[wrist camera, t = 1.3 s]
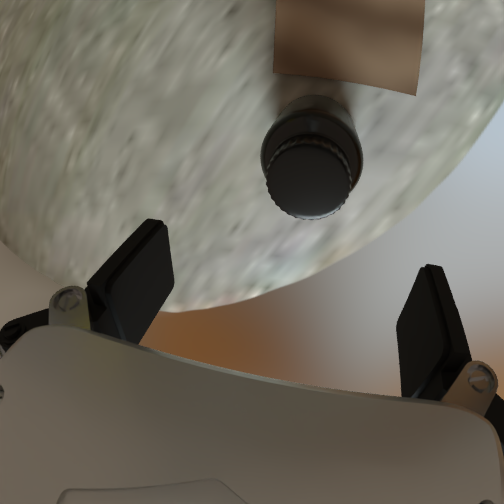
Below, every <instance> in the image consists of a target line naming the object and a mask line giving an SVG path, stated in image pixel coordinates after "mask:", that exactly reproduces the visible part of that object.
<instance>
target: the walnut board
mask: <svg viewBox="0 0 504 504" xmlns="http://www.w3.org/2000/svg"><path fill="white" fill-rule="evenodd" d="M424 11H425V0H276V20H275V42H274V62H273V73H280V74H292V75H302V76H311V77H319V78H326V79H333V80H340V81H346V82H352V83H358V84H364V85H369V86H374V87H379V88H384V89H388V90H393V91H397V92H401V93H406V94H410V95H414V96H416V91H417V84H418V77H419V69H420V60H421V51H422V40H423V27H424Z"/></svg>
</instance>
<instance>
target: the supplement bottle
mask: <svg viewBox="0 0 504 504" xmlns="http://www.w3.org/2000/svg"><path fill="white" fill-rule="evenodd" d="M260 159H261V166H262V170H263V173H264V176H265V178H266V180H267V182H266V185H267V187H268V192H269V194H270V195H271V199H272V200H274V201H275V204H276V205H277V206H279V207H280V209H281V210H282V211H285V212H286V213H287V214H288V215H292V216H294V217H295V218H301V219H303V220H304V219H309V220H313V219H321V218H322V217H327V216H328V215H331V214H334V213H335V211H337V210H339V209H340V207H341V206H342V205H343V204H345V200H346V199H347V198H348V196H349V193H350V192H351V191H352V190H353V189H354V188H355V186H356V185H357V183H358V181H359V179H360V176H361V173H362V169H363V152H362V147H361V144H360V141H359V138H358V135H357V132H356V129H355V126H354V123H353V121H352V119H351V117H350V115H349V113H348V112H347V111H346V110H345V108H344V107H343V106H342V105H340V104H339V103H338V102H336V101H335V100H333V99H331V98H328V97H325V96H320V95H308V96H304V97H300V98H298V99H296V100H294V101H293V102H291V103H290V104H289V105H288V106H287V107H286V108H285V109H284V110H283V111H282V113H281V114H280V115H279V117H278V118H277V119H276V121H275V122H274V123H273V125H272V126H271V128H270V129H269V130H268V132H267V134H266V136H265V138H264V140H263V143H262V147H261V154H260Z"/></svg>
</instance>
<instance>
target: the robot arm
mask: <svg viewBox="0 0 504 504" xmlns="http://www.w3.org/2000/svg"><path fill="white" fill-rule="evenodd" d="M87 285H88V286H87V287H86V288H85V290H84V289H83V288H81V287H79V286H68V287H65V288H62V289H60V290H59V291H57V292H56V293H55V294H54V295H53V296H52V298H51V299H50V302H49V308H48V309H44V310H41V311H38V312H35V313H32V314H29V315H26V316H23V317H20V318H17V319H14V320H12V321H9V322H8V323H6V324H5V325H4V326H3V328H2V329H1V331H0V504H504V400H503V399H501V397H500V396H499V395H497V394H496V392H497V388H498V379H497V376H496V374H495V372H494V371H493V369H492V368H491V367H490V366H489V365H487V364H485V363H484V362H481V361H472V358H471V354H470V350H469V346H468V343H467V339H466V335H465V332H464V328H463V325H462V322H461V318H460V316H459V312H458V309H457V307H456V305H455V302H454V299H453V296H452V293H451V290H450V287H449V284H448V281H447V279H446V276H445V273H444V271H443V268H442V267H441V266H437V265H431V264H426V266H425V267H421V268H420V270H419V272H418V275H417V277H416V280H415V282H414V285H413V287H412V290H411V292H410V294H409V296H408V299H407V301H406V303H405V305H404V308H403V310H402V312H401V314H400V316H399V318H398V321H397V325H396V332H397V341H398V352H399V364H400V377H401V393H402V394H401V395H402V397H396V396H387V395H378V394H369V393H361V392H353V391H345V390H338V389H331V388H324V387H318V386H312V385H305V384H300V383H294V382H288V381H283V380H278V379H273V378H267V377H262V376H258V375H252V374H248V373H243V372H239V371H234V370H230V369H226V368H221V367H217V366H213V365H209V364H205V363H201V362H197V361H194V360H190V359H186V358H182V357H178V356H175V355H171V354H168V353H164V352H161V351H157V350H154V349H151V348H147V347H144V346H140V345H138V344H139V342H140V340H141V339H142V337H143V336H144V334H145V332H146V331H147V329H148V328H149V326H150V324H151V323H152V321H153V319H154V318H155V316H156V315H157V313H158V312H159V310H160V308H161V307H162V305H163V304H164V302H165V300H166V299H167V297H168V296H169V294H170V292H171V291H172V289H173V287H174V274H173V267H172V260H171V252H170V244H169V236H168V228H167V226H166V225H164V223H163V221H161V220H155V219H146V220H145V221H144V222H143V223H142V224H141V225H140V226H139V227H138V228H137V229H136V230H135V231H134V232H133V233H132V234H131V235H130V237H129V238H128V239H127V240H126V241H125V242H124V243H123V244H122V245H121V246H120V247H119V248H118V249H117V250H116V251H115V252H114V253H113V254H112V255H111V257H110V258H109V259H108V260H107V261H106V262H105V263H104V264H103V265H102V266H101V267H100V269H99V270H98V271H97V272H96V273H95V274H94V275H93V276H92V277H91V279H90V280H89V281H88V282H87Z"/></svg>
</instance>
